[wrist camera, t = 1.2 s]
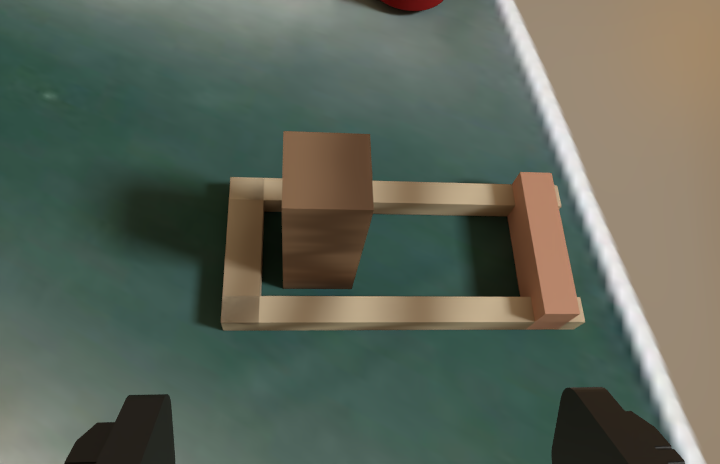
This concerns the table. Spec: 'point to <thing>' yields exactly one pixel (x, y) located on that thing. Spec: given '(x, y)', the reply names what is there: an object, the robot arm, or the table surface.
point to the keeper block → (325, 208)
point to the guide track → (529, 311)
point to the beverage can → (412, 4)
